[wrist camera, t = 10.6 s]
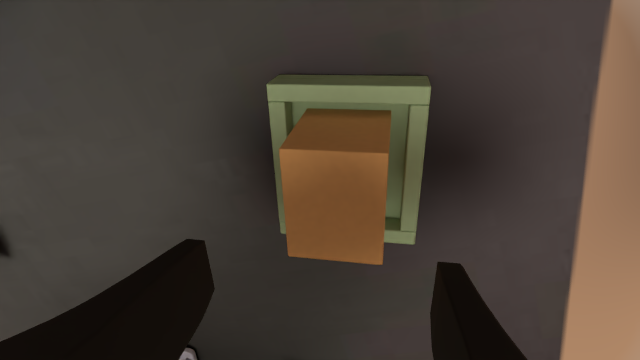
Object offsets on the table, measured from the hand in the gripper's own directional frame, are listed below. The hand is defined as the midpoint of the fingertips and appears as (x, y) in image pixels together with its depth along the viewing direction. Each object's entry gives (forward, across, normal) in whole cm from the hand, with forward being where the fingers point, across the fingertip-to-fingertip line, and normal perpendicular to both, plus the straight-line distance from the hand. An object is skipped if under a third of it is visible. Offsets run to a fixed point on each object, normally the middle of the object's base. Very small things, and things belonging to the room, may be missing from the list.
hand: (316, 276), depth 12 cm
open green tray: (+9, 0, 0) cm, 9 cm away
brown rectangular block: (+9, 0, 0) cm, 9 cm away
